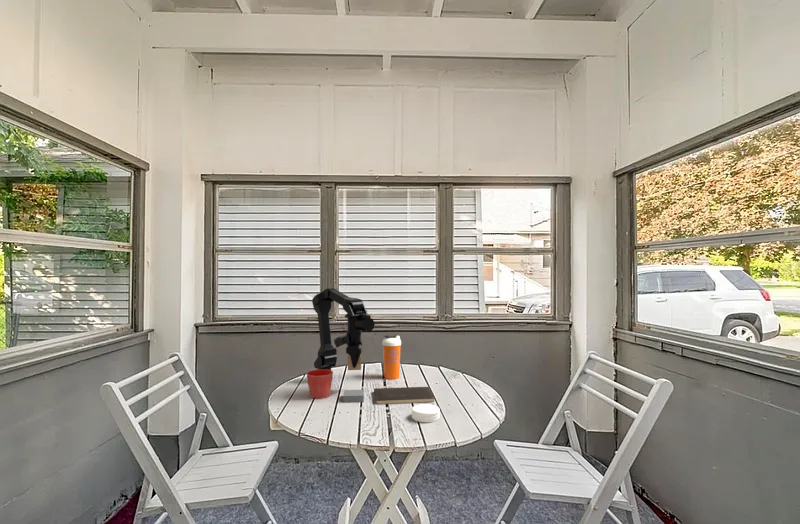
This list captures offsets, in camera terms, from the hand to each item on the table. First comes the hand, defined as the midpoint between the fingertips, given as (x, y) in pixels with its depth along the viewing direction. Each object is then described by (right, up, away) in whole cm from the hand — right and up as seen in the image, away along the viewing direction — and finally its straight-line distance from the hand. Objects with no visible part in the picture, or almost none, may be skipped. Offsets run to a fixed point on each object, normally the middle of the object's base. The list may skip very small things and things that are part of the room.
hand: (354, 365), depth 190 cm
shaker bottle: (+15, -11, +22) cm, 29 cm away
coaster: (+28, -12, -31) cm, 43 cm away
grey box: (+1, -11, -10) cm, 15 cm away
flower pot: (-14, -11, -6) cm, 18 cm away
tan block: (0, -1, 0) cm, 1 cm away
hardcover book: (+21, -12, -7) cm, 25 cm away
